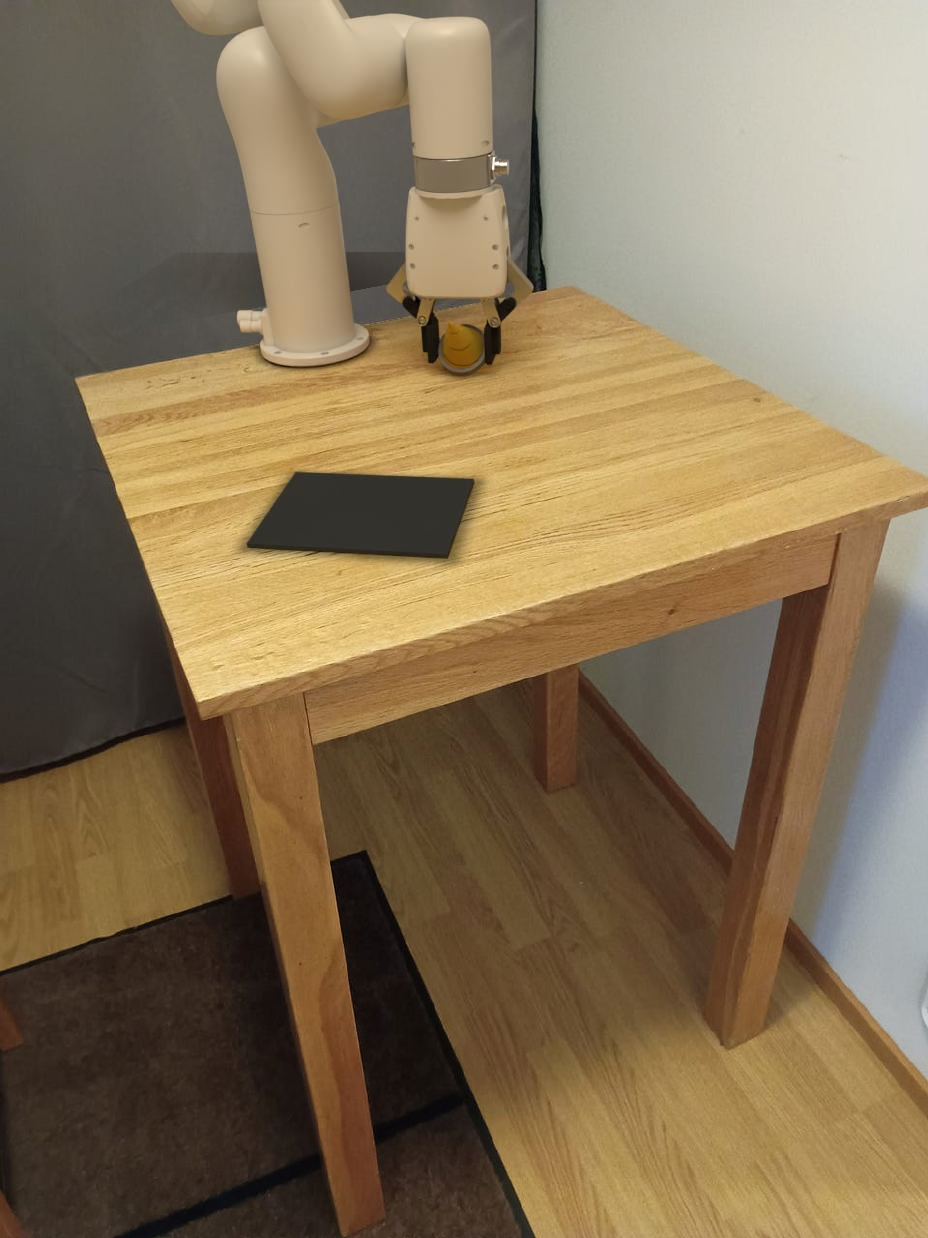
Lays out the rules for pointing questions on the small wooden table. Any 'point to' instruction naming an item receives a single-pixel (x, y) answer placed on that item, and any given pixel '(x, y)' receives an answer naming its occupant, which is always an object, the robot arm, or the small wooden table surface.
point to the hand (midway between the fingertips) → (462, 357)
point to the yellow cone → (462, 349)
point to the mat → (365, 514)
